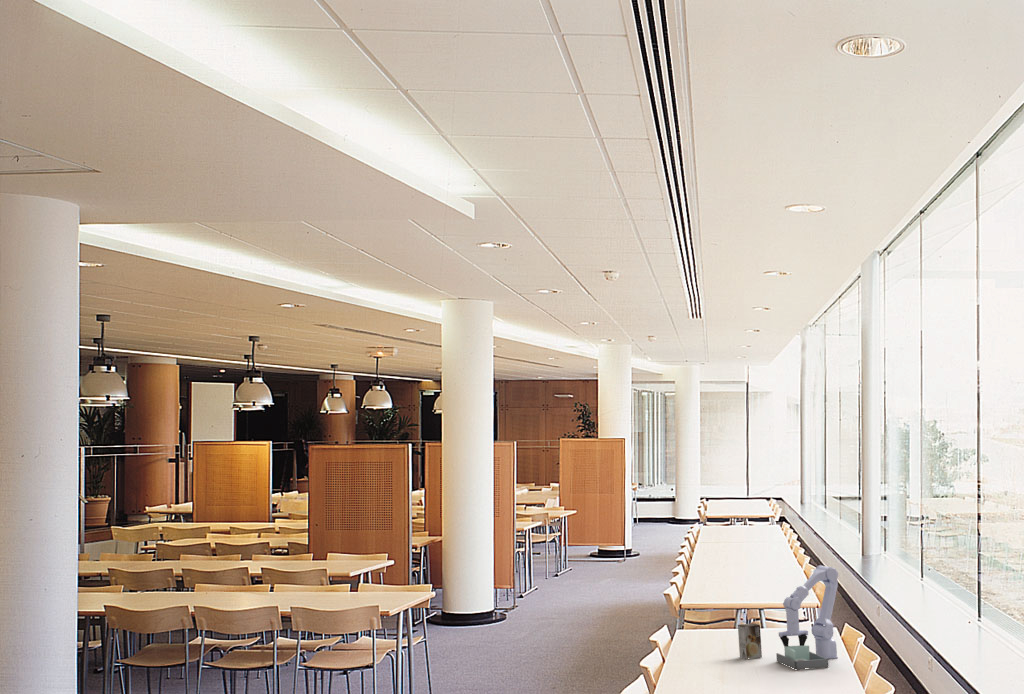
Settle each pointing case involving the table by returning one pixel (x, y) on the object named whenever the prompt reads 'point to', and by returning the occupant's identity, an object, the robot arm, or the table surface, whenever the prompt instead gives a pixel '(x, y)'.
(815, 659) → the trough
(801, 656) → the l-shaped corner panel
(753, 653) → the coffee box
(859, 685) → the table surface
